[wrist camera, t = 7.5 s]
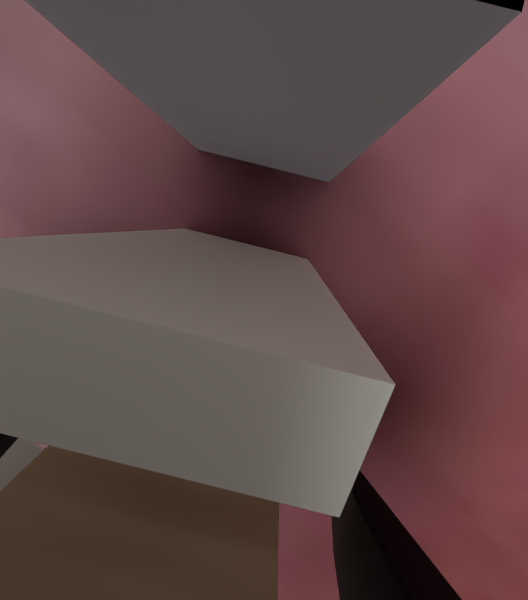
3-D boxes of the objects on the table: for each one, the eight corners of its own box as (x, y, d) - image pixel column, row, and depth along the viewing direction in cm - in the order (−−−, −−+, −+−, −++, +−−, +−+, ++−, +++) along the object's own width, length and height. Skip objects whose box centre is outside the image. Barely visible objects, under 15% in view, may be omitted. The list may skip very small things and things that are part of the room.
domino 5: (329, 182, 10) (567, -29, 2) (197, 149, 10) (-248, -236, 2) (342, 134, 10) (762, -487, 1) (205, 100, 10) (-350, -773, 1)
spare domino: (271, 389, 13) (248, 741, 4) (165, 361, 13) (-86, 655, 4) (281, 358, 12) (276, 679, 4) (170, 329, 12) (-97, 582, 4)
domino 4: (297, 296, 12) (338, 517, 3) (179, 267, 12) (-135, 399, 3) (307, 259, 11) (396, 384, 2) (185, 228, 11) (-163, 246, 2)
